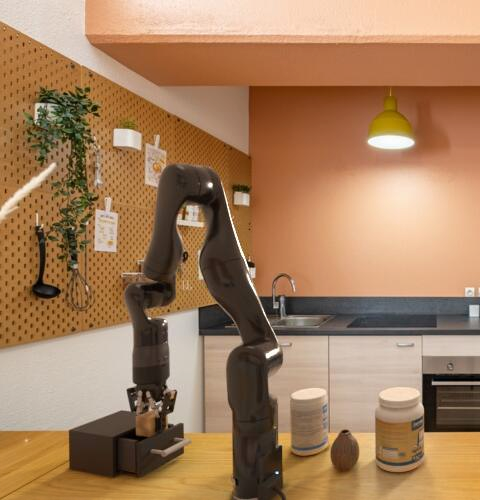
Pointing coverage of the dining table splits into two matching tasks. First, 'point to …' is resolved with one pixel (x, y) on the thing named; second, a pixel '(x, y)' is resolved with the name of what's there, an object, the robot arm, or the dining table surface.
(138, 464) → the drawer with bar handle
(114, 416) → the dark drawer cabinet
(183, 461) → the dining table surface
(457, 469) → the dining table surface
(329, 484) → the dining table surface
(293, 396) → the supplement tub
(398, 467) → the supplement tub
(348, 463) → the vase
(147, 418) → the block
